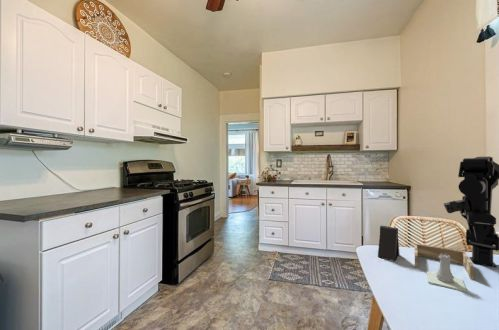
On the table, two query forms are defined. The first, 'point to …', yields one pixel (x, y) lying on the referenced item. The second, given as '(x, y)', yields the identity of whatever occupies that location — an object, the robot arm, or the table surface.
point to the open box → (454, 255)
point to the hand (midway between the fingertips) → (475, 238)
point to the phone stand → (388, 243)
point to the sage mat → (456, 284)
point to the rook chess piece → (445, 269)
